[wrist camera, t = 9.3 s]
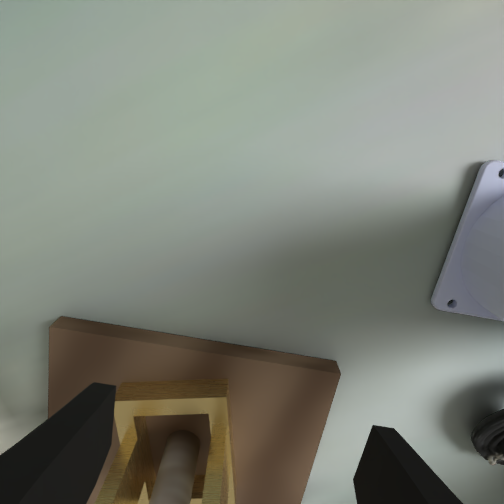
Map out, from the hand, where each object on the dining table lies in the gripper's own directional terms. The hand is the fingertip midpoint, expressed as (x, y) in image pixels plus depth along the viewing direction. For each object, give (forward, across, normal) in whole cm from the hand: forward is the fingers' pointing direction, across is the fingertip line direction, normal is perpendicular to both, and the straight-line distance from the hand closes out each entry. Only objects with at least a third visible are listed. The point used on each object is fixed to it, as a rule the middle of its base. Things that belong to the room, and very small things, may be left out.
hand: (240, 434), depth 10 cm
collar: (+9, +2, +10) cm, 13 cm away
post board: (+10, +2, +10) cm, 14 cm away
